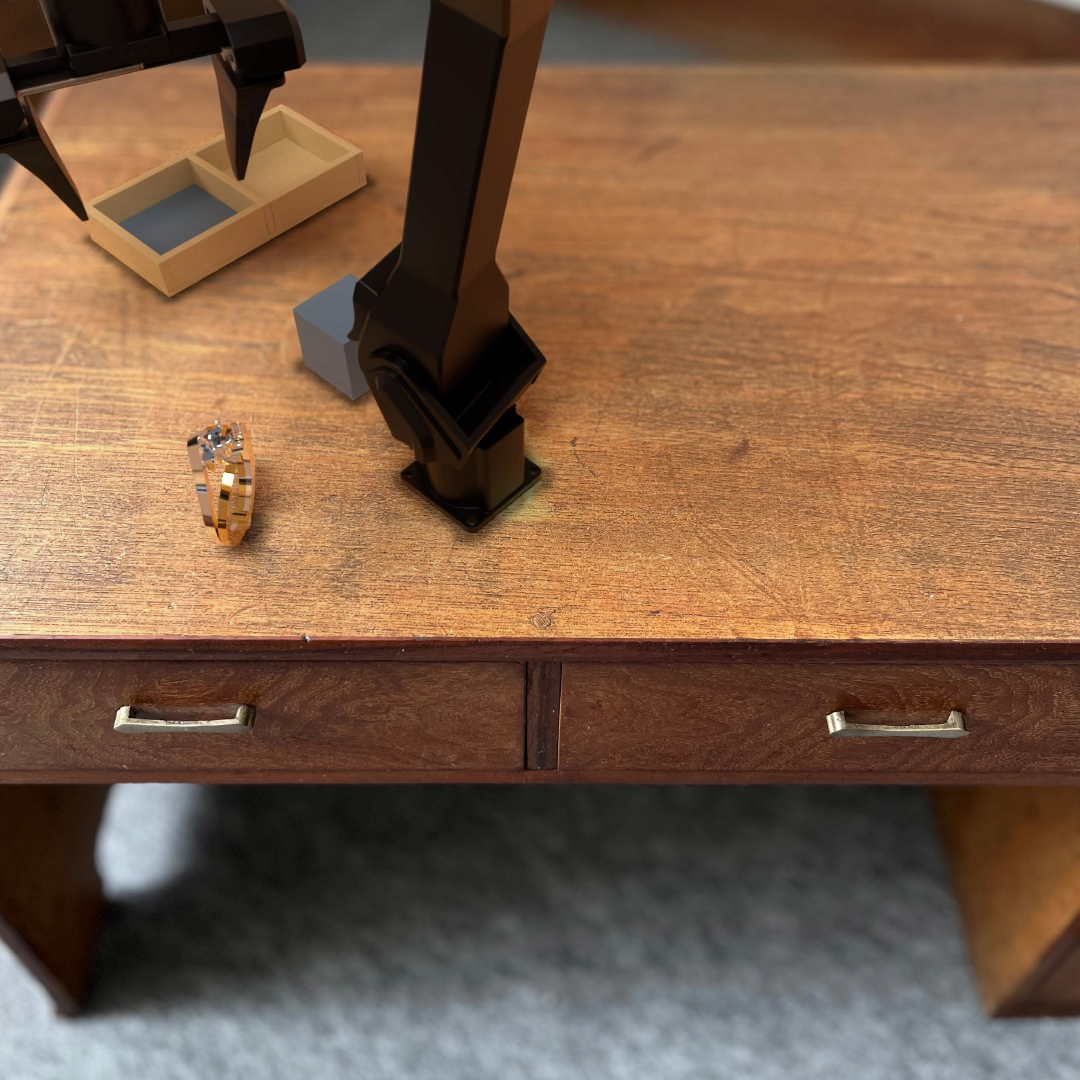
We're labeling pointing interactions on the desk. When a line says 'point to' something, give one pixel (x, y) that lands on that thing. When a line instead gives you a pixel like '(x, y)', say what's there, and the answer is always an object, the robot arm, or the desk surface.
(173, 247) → the tray
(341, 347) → the blue block
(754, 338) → the desk surface
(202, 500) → the ring
